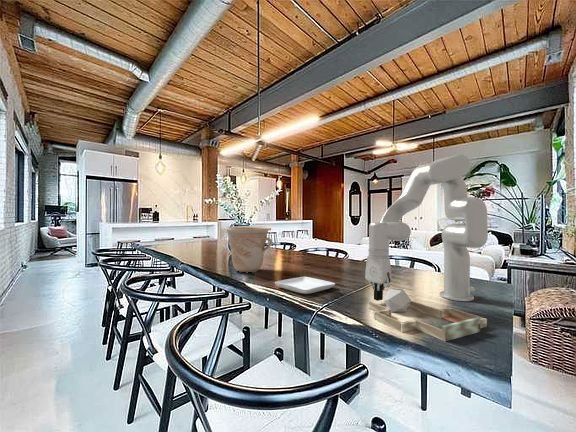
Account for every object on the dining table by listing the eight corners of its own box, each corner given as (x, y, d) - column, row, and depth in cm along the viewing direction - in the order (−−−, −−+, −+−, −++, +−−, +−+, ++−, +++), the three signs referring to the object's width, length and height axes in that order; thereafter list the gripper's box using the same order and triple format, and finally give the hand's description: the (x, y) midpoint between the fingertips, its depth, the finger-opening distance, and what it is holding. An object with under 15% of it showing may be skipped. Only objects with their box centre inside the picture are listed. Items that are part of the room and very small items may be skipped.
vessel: (285, 268, 177) (280, 220, 174) (245, 281, 158) (239, 228, 156) (258, 262, 199) (253, 220, 196) (221, 273, 180) (215, 227, 178)
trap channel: (410, 301, 116) (410, 291, 116) (491, 328, 88) (492, 315, 88) (355, 311, 103) (356, 299, 103) (430, 345, 76) (430, 330, 76)
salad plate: (304, 281, 150) (304, 275, 150) (336, 289, 135) (336, 282, 135) (273, 288, 136) (273, 281, 136) (305, 298, 120) (305, 290, 120)
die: (407, 318, 98) (418, 294, 101) (384, 304, 100) (395, 281, 103) (398, 319, 106) (408, 296, 109) (377, 306, 107) (388, 284, 110)
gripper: (358, 251, 118) (358, 296, 118) (385, 256, 104) (385, 306, 104) (372, 250, 121) (372, 294, 121) (400, 255, 108) (400, 303, 108)
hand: (378, 299), depth 113 cm, fingers closed
